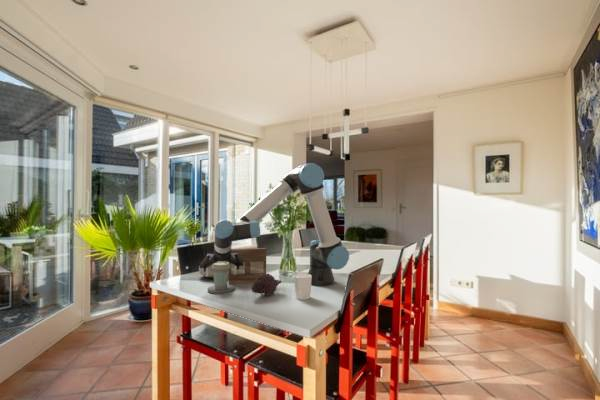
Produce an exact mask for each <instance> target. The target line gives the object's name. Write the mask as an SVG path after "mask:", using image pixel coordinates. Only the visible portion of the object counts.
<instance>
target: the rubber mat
mask: <svg viewBox="0 0 600 400" xmlns="http://www.w3.org/2000/svg"><path fill="white" fill-rule="evenodd" d="M235 287H236V286H235V285H234V284H227V288H226V289H221V290H218V289H215V284H214V285H211V286H209V287H207V293H209V294H214V295H222V294H223V295H224V294H228V293H232V292H234V291H235V290H236V288H235Z"/></svg>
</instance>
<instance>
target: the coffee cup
mask: <svg viewBox="0 0 600 400" xmlns="http://www.w3.org/2000/svg"><path fill="white" fill-rule="evenodd" d="M212 268H213V275H214V278H213V283H214V285H215V289H218V290H221V289H226V288H227V284H228V276H229V268H230V265H229V262H228V261H227V262H217V263H214V264H213V266H212Z"/></svg>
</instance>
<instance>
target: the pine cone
mask: <svg viewBox="0 0 600 400" xmlns="http://www.w3.org/2000/svg"><path fill="white" fill-rule="evenodd" d="M281 283H282V280H279V279H275V277H274V276H273V275H272V274H270V273H266V274H263V275H260V276H259V277H258V278H257V280H256V282H255V283H252V285H251V288H250V289H251V292H252V293H253V292H254V294H265V296H267V295H268V296H270V295H273V294H274V293H276V292H275V291H277V287H278V285H280V284H281Z"/></svg>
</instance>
